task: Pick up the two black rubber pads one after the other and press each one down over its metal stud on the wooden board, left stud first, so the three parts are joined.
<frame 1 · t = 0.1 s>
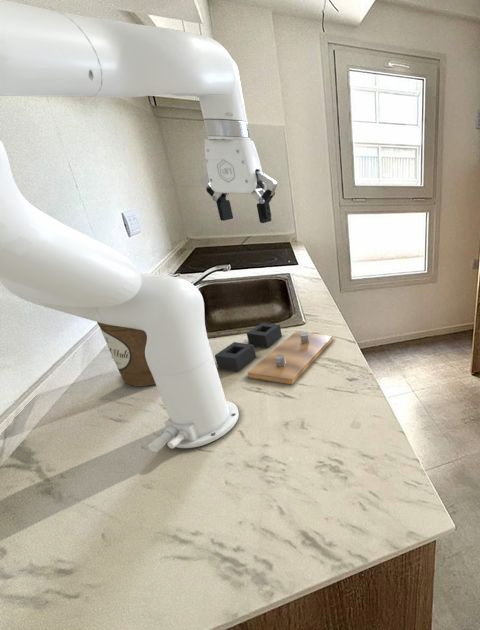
hand: (246, 220, 73), 37 cm above the counter, tool pointing down, fingers open, 9 cm apart
pad right: (266, 340, 98), on the counter
pad left: (237, 362, 87), on the counter
wooden board: (294, 357, 90), on the counter
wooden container: (160, 369, 84), on the counter
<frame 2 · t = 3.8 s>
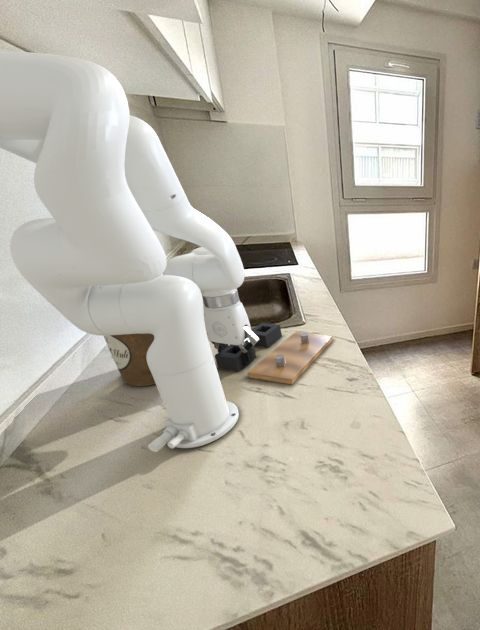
hand: (237, 360, 87), 1 cm above the counter, tool pointing down, fingers closed on pad left, 6 cm apart
pad left: (237, 362, 87), on the counter, touching gripper
everything else where it was.
when the fingers open (2 cm above the counter, at t = 11.0 s): pad left stays where it is, resting on wooden board.
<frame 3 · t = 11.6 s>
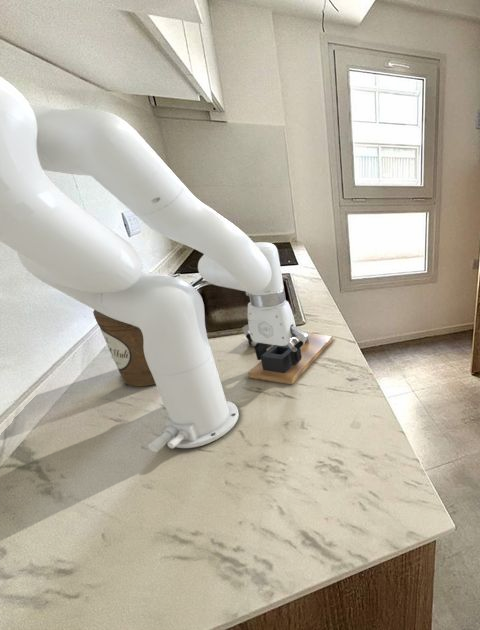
hand: (279, 359, 84), 3 cm above the counter, tool pointing down, fingers open, 9 cm apart
pad left: (282, 363, 85), point 1 cm above the counter, touching wooden board
everything else where it was.
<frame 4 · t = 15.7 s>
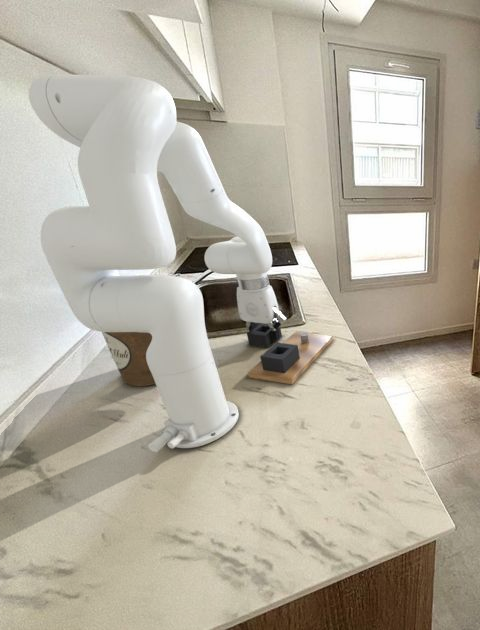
hand: (265, 339, 98), 1 cm above the counter, tool pointing down, fingers closed on pad right, 6 cm apart
pad right: (266, 340, 98), on the counter, touching gripper
everything else where it was.
when the fingers open (2 cm above the counter, at t = 22.8 s): pad right stays where it is, resting on wooden board.
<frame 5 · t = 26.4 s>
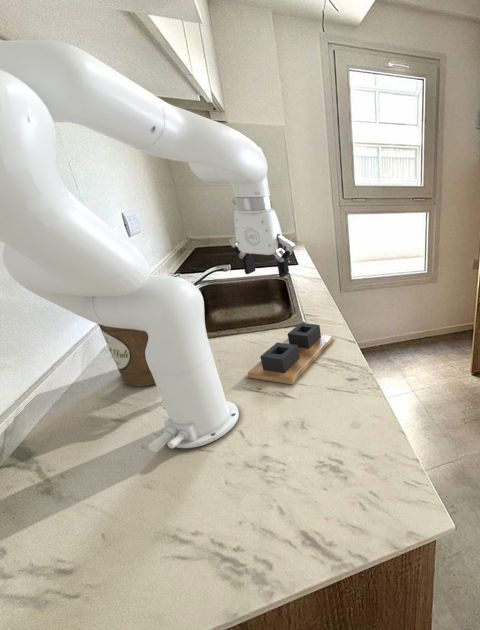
hand: (267, 274, 84), 22 cm above the counter, tool pointing down, fingers open, 9 cm apart
pad right: (305, 341, 95), point 1 cm above the counter, touching wooden board
everything else where it was.
at the end: pad left 0.4 cm from the target spot on the wooden board, point 1.5 cm above the wooden board's base; pad right 0.2 cm from the target spot on the wooden board, point 1.5 cm above the wooden board's base; pad right tilted 0° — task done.
